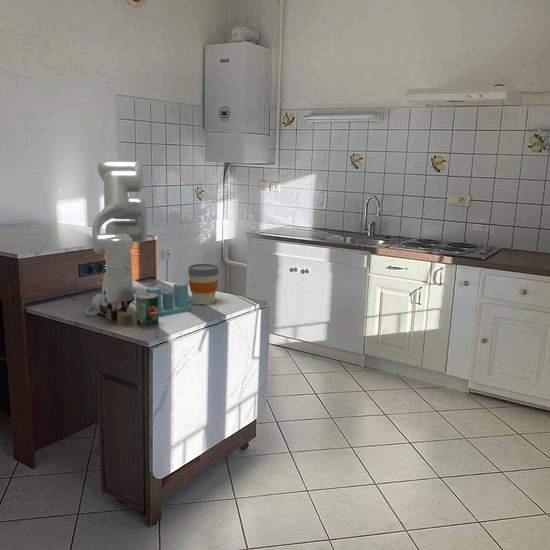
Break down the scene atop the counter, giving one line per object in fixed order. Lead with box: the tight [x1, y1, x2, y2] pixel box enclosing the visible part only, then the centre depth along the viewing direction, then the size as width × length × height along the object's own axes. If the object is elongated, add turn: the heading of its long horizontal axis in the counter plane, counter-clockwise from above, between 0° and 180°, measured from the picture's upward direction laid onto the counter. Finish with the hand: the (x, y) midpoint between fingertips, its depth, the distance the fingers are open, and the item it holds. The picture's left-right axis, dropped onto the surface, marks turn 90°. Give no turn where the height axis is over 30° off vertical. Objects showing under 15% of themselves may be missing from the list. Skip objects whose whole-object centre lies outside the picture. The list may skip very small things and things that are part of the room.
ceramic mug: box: [86, 293, 118, 317], centre depth 215 cm, size 11×8×8 cm
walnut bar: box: [105, 306, 133, 327], centre depth 206 cm, size 15×3×4 cm, turn 41°
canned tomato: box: [135, 292, 160, 328], centre depth 203 cm, size 8×8×11 cm
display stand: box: [145, 282, 193, 317], centre depth 218 cm, size 6×18×10 cm, turn 131°
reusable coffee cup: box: [187, 263, 219, 306], centre depth 234 cm, size 12×13×15 cm
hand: (119, 319), depth 207 cm, fingers closed on walnut bar, 2 cm apart
